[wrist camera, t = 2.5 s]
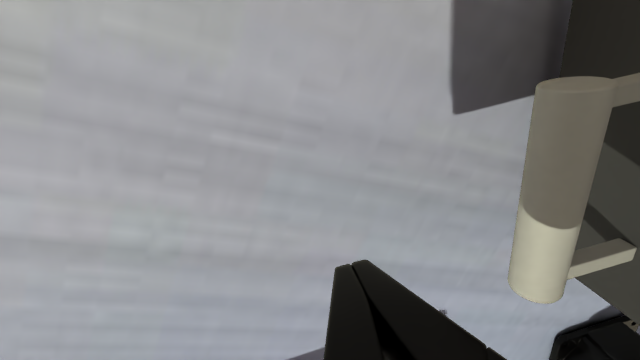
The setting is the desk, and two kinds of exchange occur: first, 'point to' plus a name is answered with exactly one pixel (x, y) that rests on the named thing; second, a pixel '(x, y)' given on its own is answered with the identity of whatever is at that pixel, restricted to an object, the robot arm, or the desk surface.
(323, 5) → the desk surface
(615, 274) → the drawer
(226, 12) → the desk surface
